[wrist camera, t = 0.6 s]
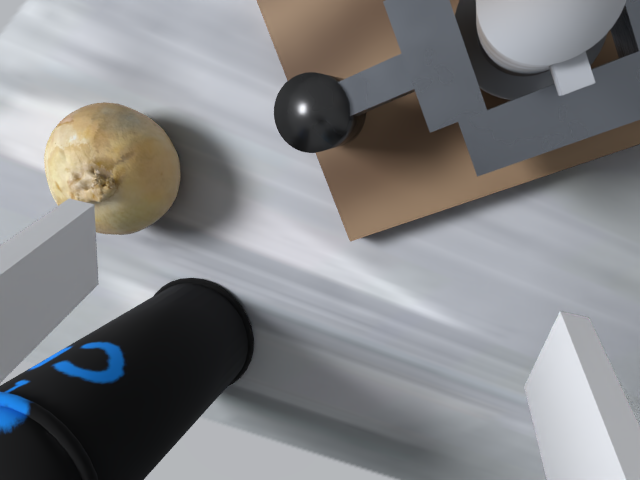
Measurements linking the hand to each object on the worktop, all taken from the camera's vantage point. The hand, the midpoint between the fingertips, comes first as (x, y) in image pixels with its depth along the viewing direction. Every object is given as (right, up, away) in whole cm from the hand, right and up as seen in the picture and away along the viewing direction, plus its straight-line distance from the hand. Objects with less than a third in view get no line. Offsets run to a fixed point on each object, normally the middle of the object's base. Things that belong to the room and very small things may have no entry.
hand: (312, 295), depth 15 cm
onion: (-12, +7, +20) cm, 24 cm away
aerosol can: (-8, -5, +22) cm, 24 cm away
